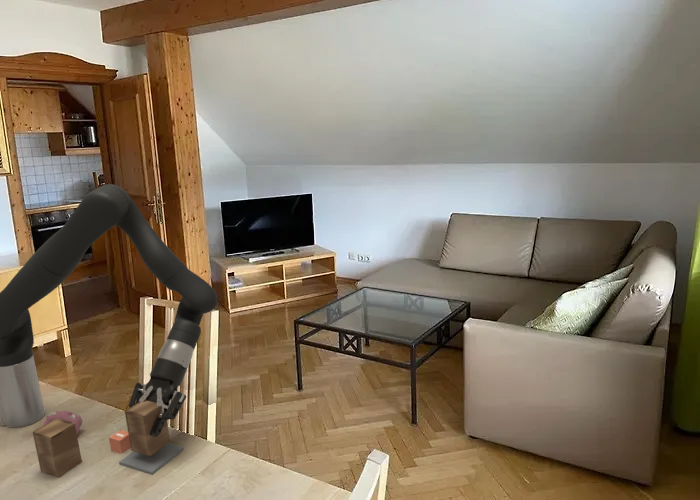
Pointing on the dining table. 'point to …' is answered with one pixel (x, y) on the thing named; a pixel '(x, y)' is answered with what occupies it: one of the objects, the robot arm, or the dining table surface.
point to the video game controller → (65, 418)
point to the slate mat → (151, 459)
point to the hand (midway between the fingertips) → (142, 432)
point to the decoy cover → (57, 447)
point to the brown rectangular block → (145, 428)
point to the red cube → (120, 441)
